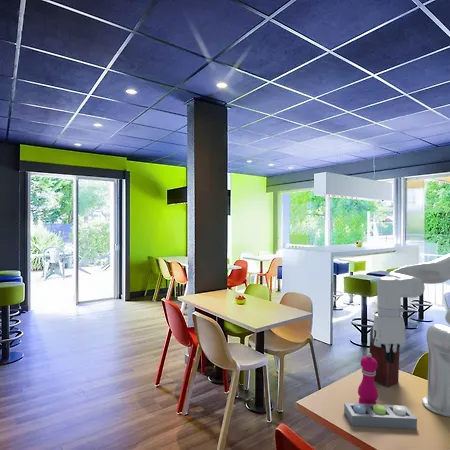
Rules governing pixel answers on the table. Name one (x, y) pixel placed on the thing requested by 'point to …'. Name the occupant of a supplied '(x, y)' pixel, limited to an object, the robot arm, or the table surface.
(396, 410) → the white rounded piece
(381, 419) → the panel
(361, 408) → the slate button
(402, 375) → the table surface
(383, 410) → the lime button
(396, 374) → the brown salt grinder
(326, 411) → the table surface
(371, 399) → the pepper mill
